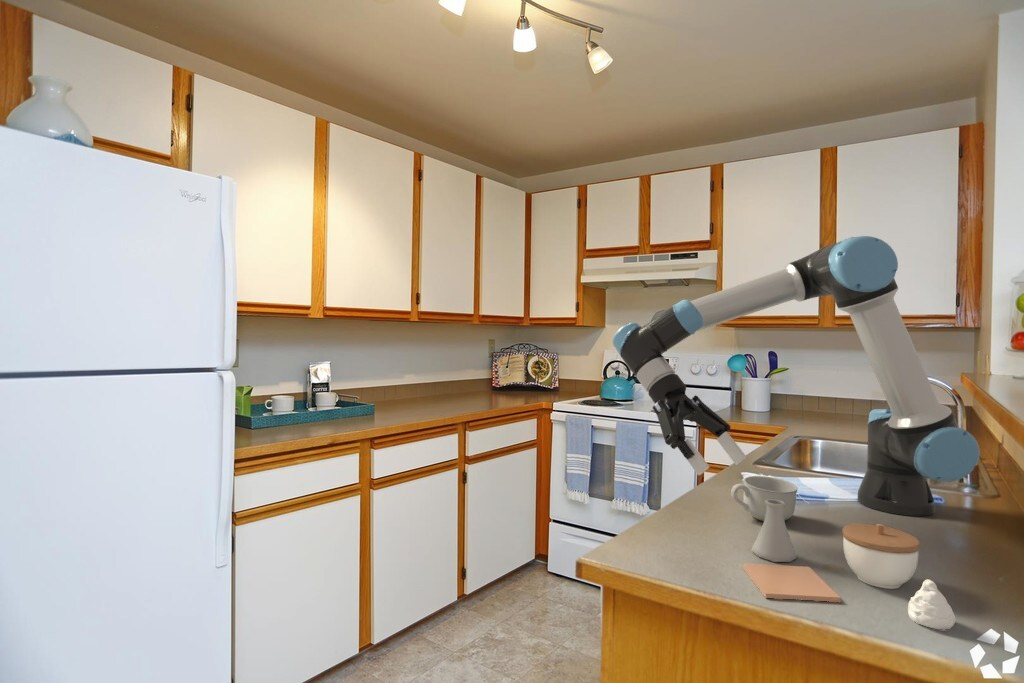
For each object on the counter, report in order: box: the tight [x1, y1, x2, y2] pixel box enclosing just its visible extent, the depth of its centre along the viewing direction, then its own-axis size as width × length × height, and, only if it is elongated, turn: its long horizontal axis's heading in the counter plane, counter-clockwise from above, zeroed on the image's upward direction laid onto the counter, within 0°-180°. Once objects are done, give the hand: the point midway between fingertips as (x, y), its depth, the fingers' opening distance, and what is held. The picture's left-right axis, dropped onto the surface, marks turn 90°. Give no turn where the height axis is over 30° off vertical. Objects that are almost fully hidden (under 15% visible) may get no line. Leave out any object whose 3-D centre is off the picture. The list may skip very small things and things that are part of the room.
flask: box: [751, 499, 798, 563], centre depth 104 cm, size 7×7×10 cm
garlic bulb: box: [907, 579, 957, 631], centre depth 81 cm, size 6×6×5 cm
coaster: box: [742, 563, 841, 603], centre depth 92 cm, size 11×11×1 cm
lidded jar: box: [842, 523, 921, 590], centre depth 94 cm, size 11×11×9 cm
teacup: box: [730, 475, 798, 522], centre depth 124 cm, size 14×11×8 cm
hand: (723, 466), depth 111 cm, fingers open, 13 cm apart
